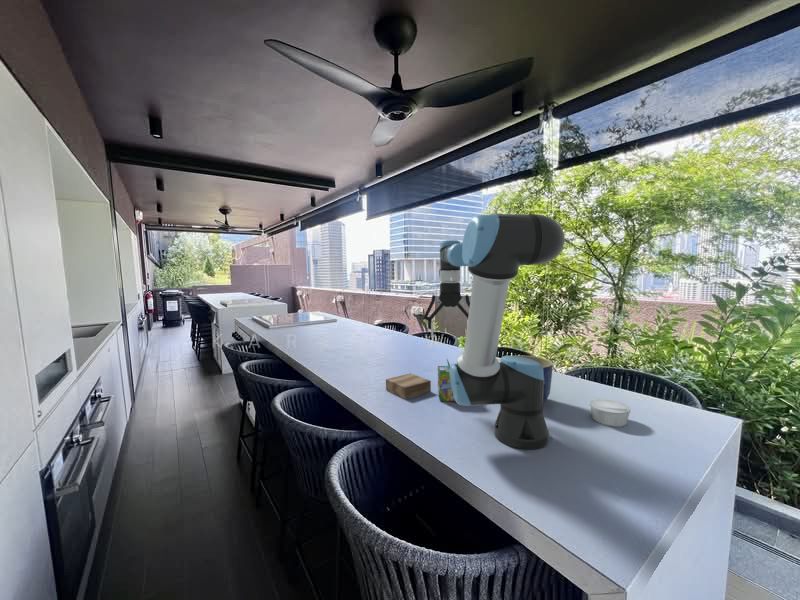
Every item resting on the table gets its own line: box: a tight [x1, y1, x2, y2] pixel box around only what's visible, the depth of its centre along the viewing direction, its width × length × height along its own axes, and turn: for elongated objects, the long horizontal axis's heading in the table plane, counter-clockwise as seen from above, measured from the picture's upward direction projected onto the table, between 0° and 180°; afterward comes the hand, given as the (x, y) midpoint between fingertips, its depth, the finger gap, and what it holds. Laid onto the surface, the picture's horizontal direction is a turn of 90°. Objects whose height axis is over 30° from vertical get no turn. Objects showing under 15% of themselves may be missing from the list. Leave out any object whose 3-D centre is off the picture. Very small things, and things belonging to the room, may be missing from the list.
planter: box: [517, 355, 554, 403], centre depth 127 cm, size 17×17×15 cm
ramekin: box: [589, 398, 631, 428], centre depth 110 cm, size 11×11×5 cm
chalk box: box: [437, 358, 456, 403], centre depth 132 cm, size 9×9×15 cm
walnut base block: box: [385, 373, 432, 400], centre depth 140 cm, size 13×13×5 cm
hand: (450, 337), depth 131 cm, fingers open, 13 cm apart
